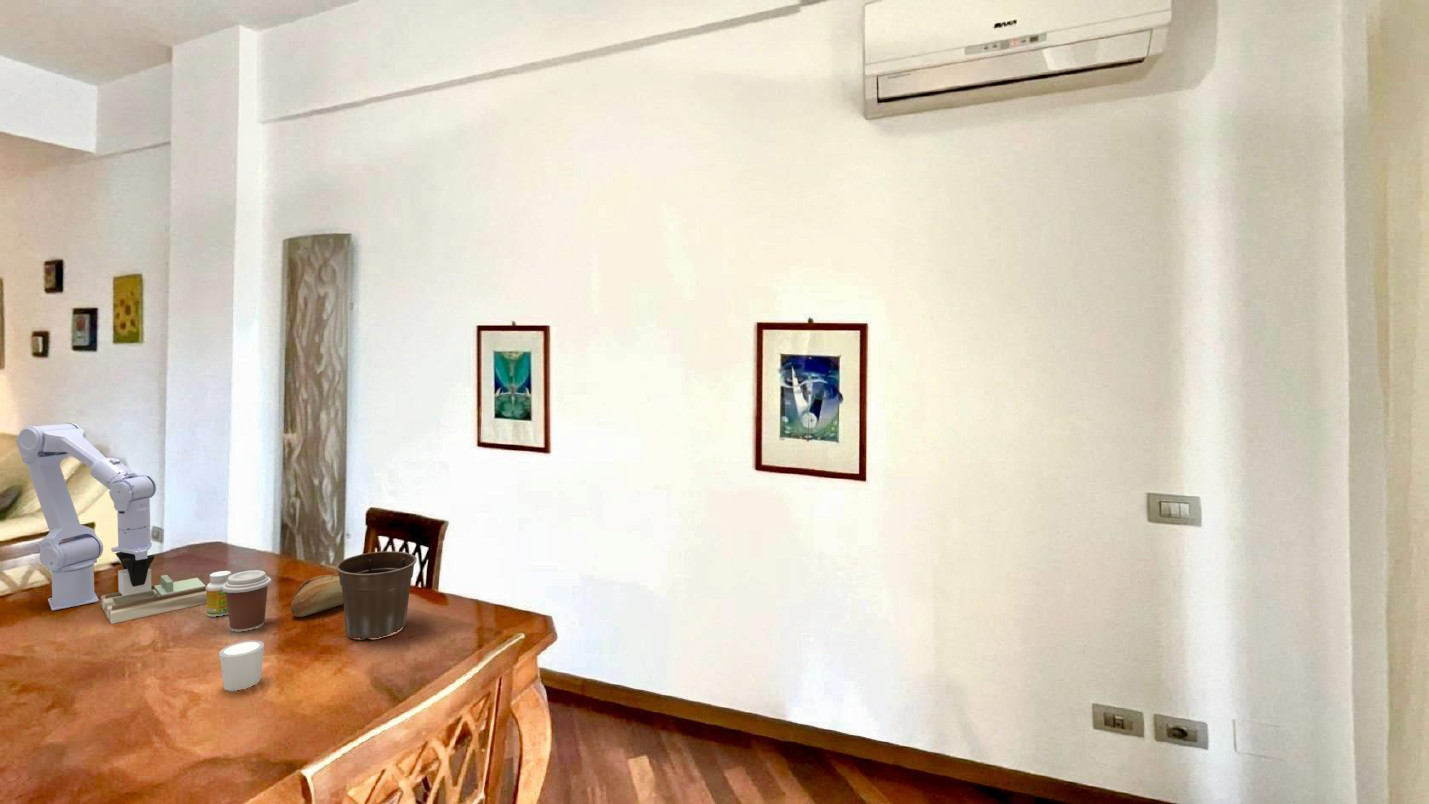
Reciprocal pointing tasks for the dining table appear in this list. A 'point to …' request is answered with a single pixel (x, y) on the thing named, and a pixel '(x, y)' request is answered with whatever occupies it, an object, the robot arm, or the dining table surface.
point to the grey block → (127, 587)
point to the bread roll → (317, 595)
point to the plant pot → (375, 592)
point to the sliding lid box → (149, 603)
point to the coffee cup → (246, 599)
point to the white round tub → (241, 664)
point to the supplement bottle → (217, 594)
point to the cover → (176, 585)
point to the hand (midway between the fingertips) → (135, 582)
